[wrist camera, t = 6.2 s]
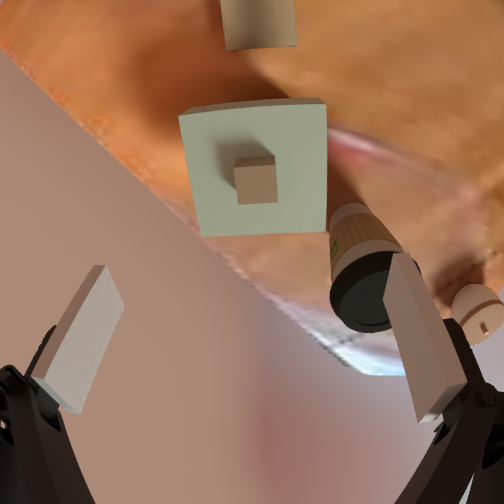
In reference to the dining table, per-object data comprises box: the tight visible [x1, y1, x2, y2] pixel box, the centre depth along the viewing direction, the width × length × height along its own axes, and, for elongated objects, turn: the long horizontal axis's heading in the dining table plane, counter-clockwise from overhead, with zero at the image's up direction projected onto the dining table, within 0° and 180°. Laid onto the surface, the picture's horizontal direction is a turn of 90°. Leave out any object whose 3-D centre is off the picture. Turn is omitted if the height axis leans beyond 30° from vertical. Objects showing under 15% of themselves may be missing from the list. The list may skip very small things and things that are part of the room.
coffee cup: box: [329, 203, 422, 333], centre depth 33 cm, size 10×10×15 cm
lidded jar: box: [450, 284, 504, 346], centre depth 42 cm, size 11×11×9 cm
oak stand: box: [220, 0, 298, 51], centre depth 24 cm, size 7×7×3 cm
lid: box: [178, 98, 327, 237], centre depth 25 cm, size 11×11×6 cm
